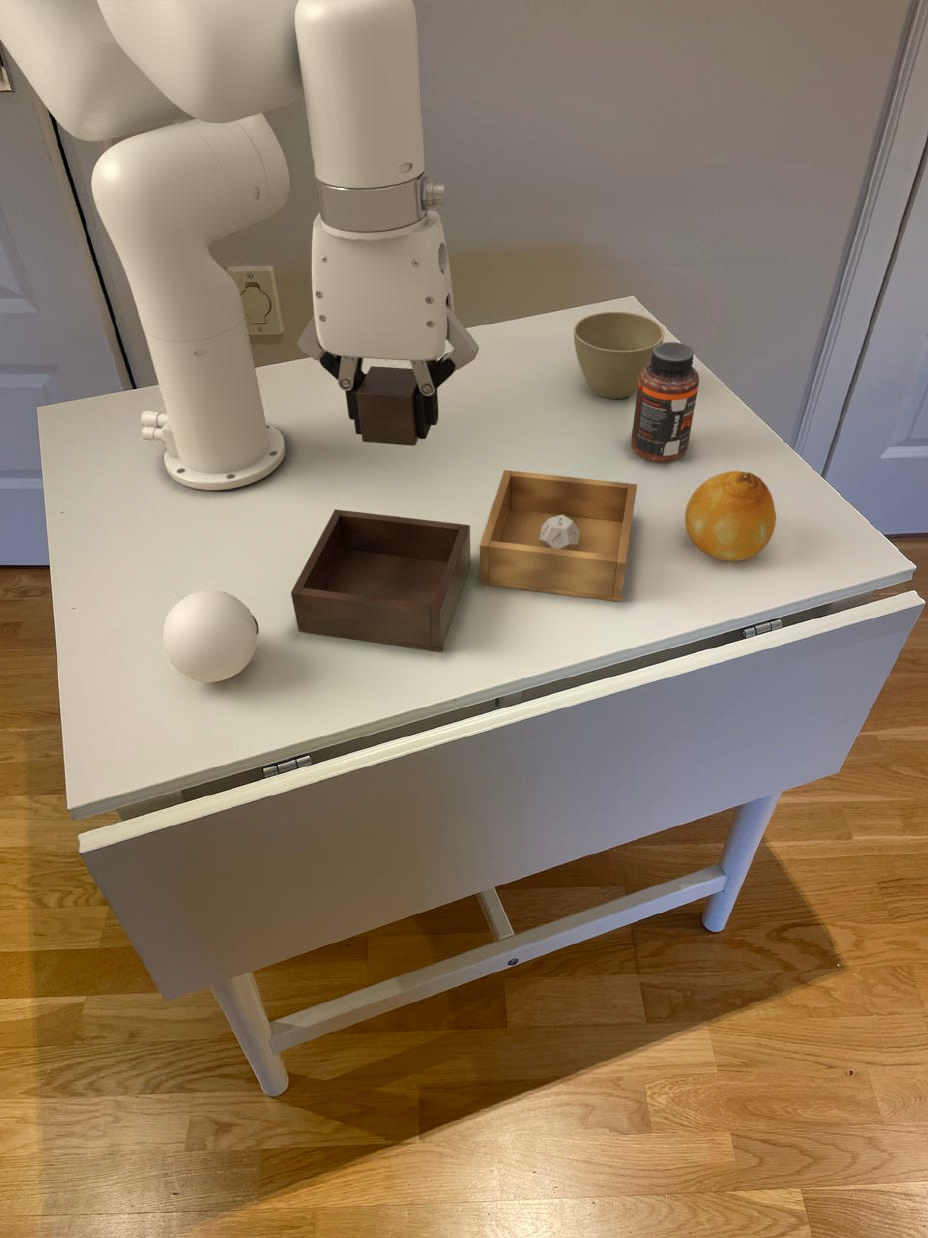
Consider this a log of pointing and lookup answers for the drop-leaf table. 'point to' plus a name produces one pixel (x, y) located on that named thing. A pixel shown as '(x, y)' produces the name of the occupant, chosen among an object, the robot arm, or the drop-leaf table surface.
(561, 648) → the drop-leaf table surface
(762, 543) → the fruit
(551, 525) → the game die
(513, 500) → the light bin
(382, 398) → the walnut block
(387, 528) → the dark bin
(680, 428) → the supplement bottle
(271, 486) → the drop-leaf table surface
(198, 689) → the drop-leaf table surface
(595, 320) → the flower pot
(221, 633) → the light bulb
